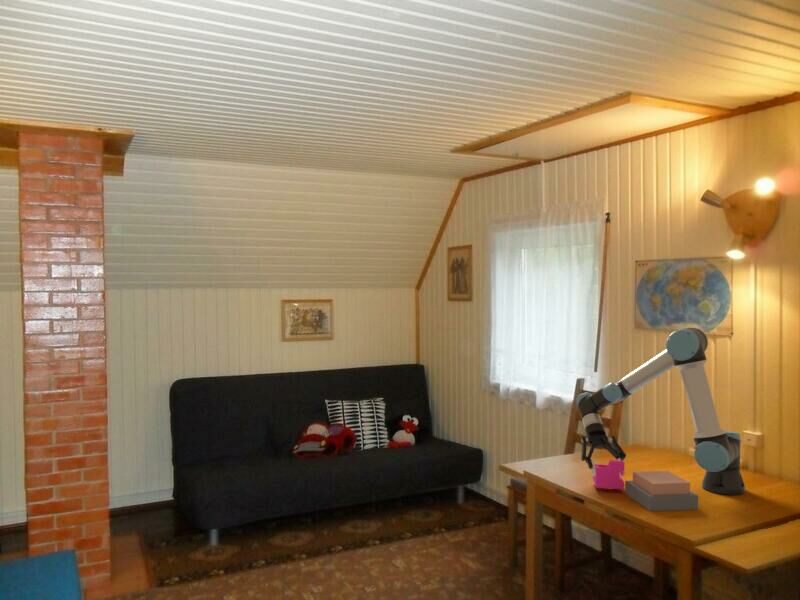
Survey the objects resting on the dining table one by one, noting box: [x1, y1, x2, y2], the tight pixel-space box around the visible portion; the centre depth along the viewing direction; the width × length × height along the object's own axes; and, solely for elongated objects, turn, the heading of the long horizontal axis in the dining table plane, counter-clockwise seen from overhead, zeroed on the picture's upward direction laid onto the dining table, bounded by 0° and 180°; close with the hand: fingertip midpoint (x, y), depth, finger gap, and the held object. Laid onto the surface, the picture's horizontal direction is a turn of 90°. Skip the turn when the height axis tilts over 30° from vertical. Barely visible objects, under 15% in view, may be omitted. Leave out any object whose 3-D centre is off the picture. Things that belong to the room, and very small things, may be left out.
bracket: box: [592, 459, 625, 490], centre depth 262 cm, size 12×10×10 cm
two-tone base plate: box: [624, 470, 699, 512], centre depth 246 cm, size 18×20×9 cm
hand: (609, 474), depth 260 cm, fingers closed on bracket, 10 cm apart
